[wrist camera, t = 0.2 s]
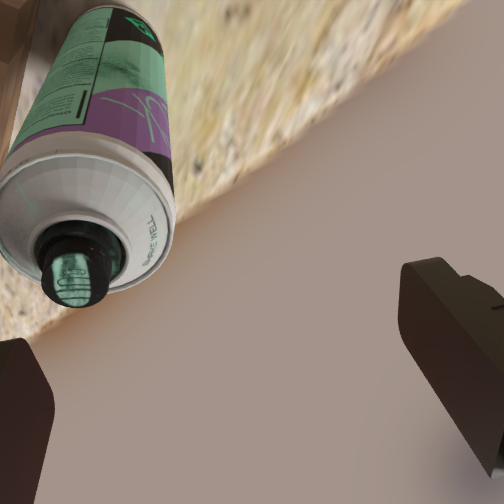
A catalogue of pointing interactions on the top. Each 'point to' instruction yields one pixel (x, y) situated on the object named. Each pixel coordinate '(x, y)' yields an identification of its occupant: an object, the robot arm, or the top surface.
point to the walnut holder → (13, 61)
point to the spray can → (93, 165)
